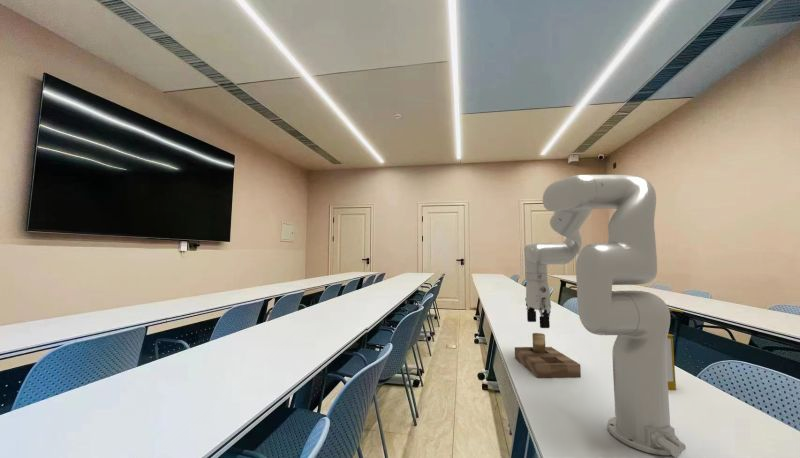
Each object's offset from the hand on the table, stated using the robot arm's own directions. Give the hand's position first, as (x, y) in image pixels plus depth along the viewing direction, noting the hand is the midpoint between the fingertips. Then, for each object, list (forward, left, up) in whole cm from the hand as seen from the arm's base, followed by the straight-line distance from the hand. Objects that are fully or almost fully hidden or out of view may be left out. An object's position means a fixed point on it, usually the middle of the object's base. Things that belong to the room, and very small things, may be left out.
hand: (538, 324), depth 112 cm
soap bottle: (-19, -29, -14) cm, 37 cm away
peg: (0, 0, -14) cm, 14 cm away
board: (-4, 0, -14) cm, 14 cm away
